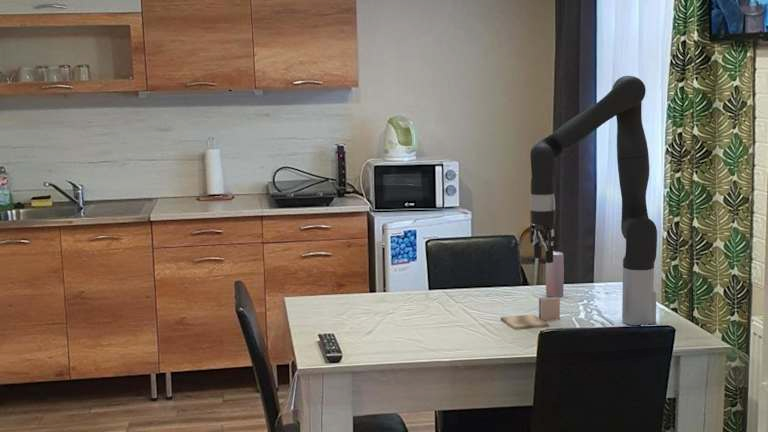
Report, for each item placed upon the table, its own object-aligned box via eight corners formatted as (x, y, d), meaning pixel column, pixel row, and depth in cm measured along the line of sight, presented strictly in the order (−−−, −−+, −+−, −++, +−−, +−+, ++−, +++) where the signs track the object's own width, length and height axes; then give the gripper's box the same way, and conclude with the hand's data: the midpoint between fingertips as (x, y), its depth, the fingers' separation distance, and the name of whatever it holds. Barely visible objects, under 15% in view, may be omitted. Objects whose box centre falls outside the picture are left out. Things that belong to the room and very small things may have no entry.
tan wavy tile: (533, 316, 301) (533, 314, 300) (548, 326, 289) (548, 323, 289) (500, 319, 298) (500, 317, 298) (514, 329, 286) (515, 326, 286)
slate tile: (556, 317, 300) (556, 296, 299) (559, 318, 298) (559, 298, 297) (538, 318, 299) (538, 298, 298) (542, 320, 296) (542, 299, 295)
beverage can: (545, 293, 332) (545, 251, 330) (563, 293, 331) (563, 251, 329) (546, 297, 326) (546, 254, 324) (563, 297, 325) (564, 254, 323)
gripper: (564, 210, 284) (564, 263, 286) (544, 204, 298) (544, 255, 300) (541, 212, 282) (542, 265, 284) (521, 206, 296) (522, 257, 298)
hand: (543, 260), depth 292 cm, fingers open, 8 cm apart
